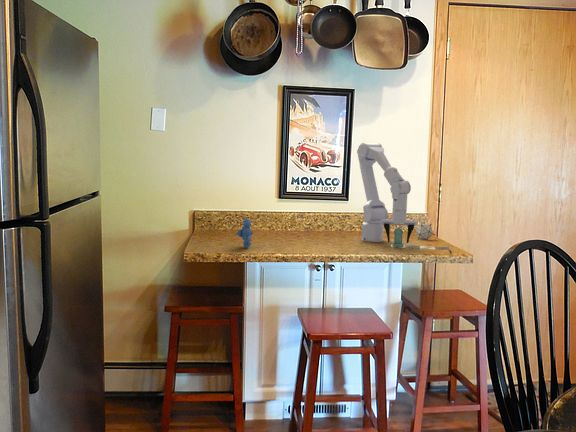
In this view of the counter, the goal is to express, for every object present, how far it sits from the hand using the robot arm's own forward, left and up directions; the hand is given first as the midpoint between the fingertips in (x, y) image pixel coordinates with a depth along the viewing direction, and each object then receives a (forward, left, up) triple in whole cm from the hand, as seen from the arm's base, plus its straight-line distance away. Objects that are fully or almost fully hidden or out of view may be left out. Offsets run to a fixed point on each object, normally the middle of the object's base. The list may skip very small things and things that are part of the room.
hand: (398, 242), depth 222 cm
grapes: (-62, -16, -3) cm, 64 cm away
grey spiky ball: (+12, +23, -3) cm, 26 cm away
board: (+9, 0, -3) cm, 9 cm away
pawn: (0, 0, -2) cm, 2 cm away
